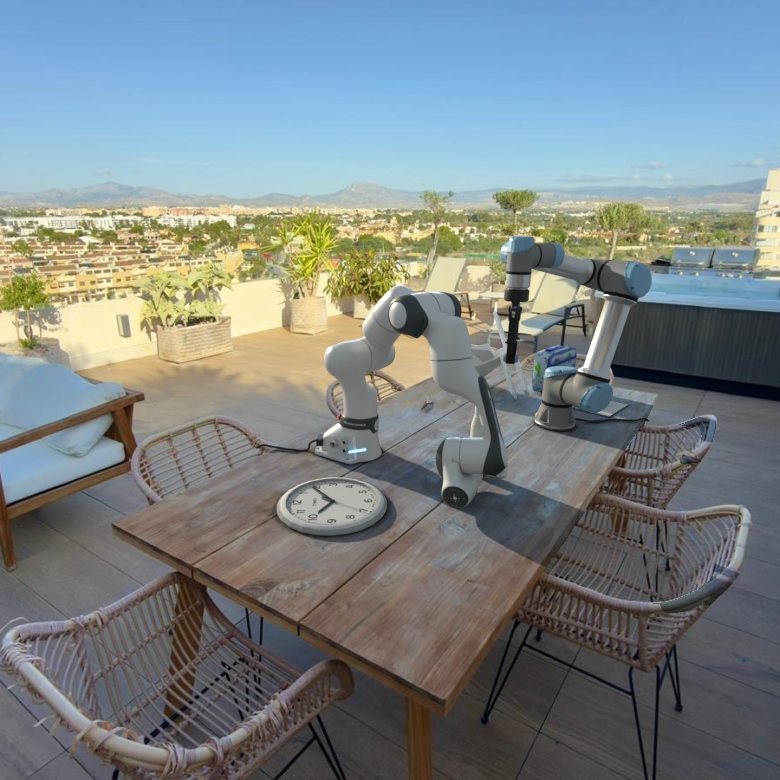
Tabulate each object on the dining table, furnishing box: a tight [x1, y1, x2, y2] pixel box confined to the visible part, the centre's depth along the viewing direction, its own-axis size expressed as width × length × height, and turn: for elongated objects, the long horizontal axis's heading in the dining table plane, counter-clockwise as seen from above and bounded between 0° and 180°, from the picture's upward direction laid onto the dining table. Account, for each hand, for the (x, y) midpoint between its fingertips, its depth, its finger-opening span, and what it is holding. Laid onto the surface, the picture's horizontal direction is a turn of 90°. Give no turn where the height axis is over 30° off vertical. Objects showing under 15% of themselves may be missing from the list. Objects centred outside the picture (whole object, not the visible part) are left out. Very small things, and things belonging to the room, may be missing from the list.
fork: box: [420, 395, 435, 411], centre depth 224 cm, size 3×16×2 cm, turn 160°
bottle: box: [469, 405, 484, 437], centre depth 160 cm, size 5×5×22 cm
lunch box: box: [531, 345, 577, 394], centre depth 245 cm, size 26×11×21 cm, turn 134°
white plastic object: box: [471, 310, 531, 400], centre depth 245 cm, size 37×45×31 cm
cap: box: [503, 353, 519, 364], centre depth 168 cm, size 5×5×2 cm
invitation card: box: [573, 400, 629, 418], centre depth 226 cm, size 21×1×15 cm
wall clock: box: [276, 476, 388, 537], centre depth 142 cm, size 30×2×30 cm
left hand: (477, 454), depth 162 cm, fingers closed on bottle, 5 cm apart
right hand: (510, 361), depth 168 cm, fingers closed on cap, 4 cm apart
